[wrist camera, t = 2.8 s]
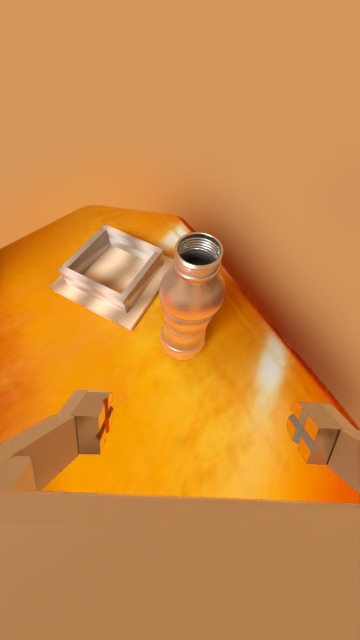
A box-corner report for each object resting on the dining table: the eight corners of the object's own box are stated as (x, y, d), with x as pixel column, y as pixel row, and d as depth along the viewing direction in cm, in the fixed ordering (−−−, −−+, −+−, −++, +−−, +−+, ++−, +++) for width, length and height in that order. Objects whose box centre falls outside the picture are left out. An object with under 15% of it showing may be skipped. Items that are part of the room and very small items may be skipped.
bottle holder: (52, 290, 37) (38, 273, 33) (108, 233, 44) (102, 214, 40) (131, 331, 34) (126, 318, 30) (178, 264, 41) (179, 246, 37)
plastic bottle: (153, 335, 34) (140, 233, 17) (190, 319, 36) (214, 210, 18) (171, 371, 32) (179, 297, 14) (210, 352, 34) (260, 264, 16)
